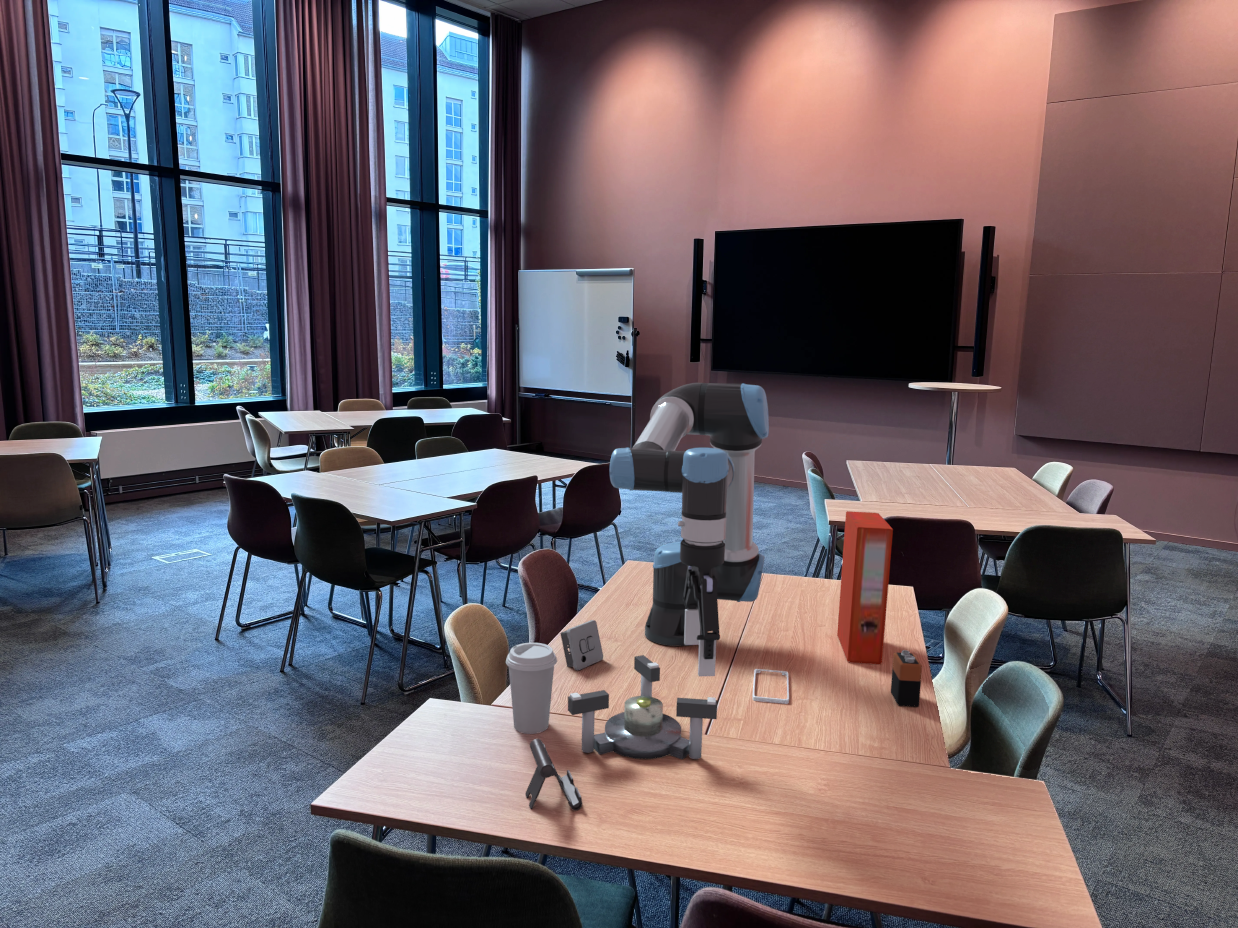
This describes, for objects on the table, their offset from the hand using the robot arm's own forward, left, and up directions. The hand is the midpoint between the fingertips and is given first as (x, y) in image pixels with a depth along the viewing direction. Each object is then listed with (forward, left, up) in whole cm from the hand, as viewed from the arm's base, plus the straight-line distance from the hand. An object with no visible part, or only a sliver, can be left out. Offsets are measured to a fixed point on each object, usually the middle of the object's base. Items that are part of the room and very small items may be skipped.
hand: (698, 659), depth 144 cm
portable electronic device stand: (+25, -12, -19) cm, 34 cm away
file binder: (-69, +6, -18) cm, 71 cm away
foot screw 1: (+10, -16, -18) cm, 26 cm away
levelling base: (0, -10, -18) cm, 21 cm away
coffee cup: (+8, -31, -18) cm, 37 cm away
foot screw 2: (-9, -16, -18) cm, 26 cm away
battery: (-47, +23, -18) cm, 55 cm away
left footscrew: (0, 0, -18) cm, 18 cm away
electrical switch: (-22, -42, -19) cm, 51 cm away
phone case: (-36, -2, -19) cm, 40 cm away
